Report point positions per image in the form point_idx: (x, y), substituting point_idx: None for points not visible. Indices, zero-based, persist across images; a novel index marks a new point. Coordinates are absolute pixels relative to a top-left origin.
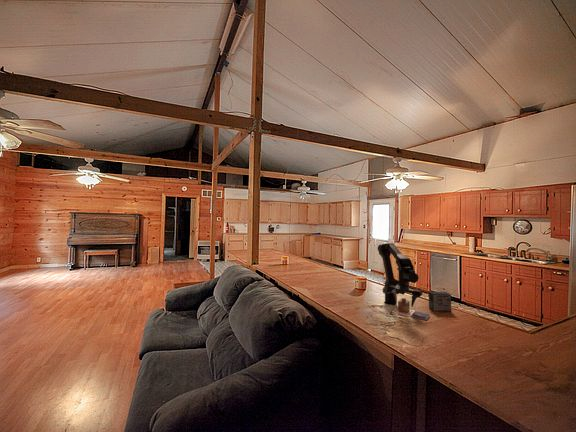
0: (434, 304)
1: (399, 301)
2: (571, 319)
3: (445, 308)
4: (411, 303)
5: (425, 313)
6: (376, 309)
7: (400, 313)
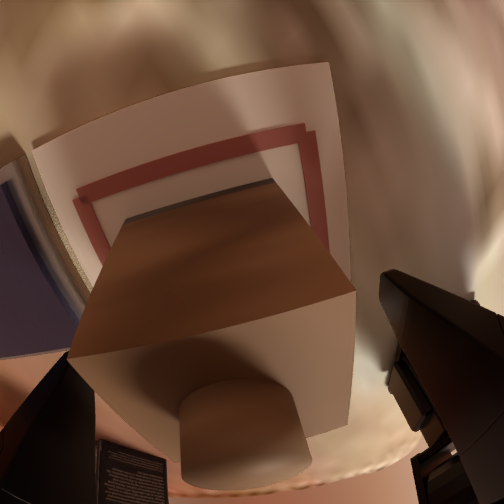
0: None
1: (303, 305)
2: None
3: None
4: (44, 401)
5: (3, 350)
6: (484, 47)
7: (180, 113)
